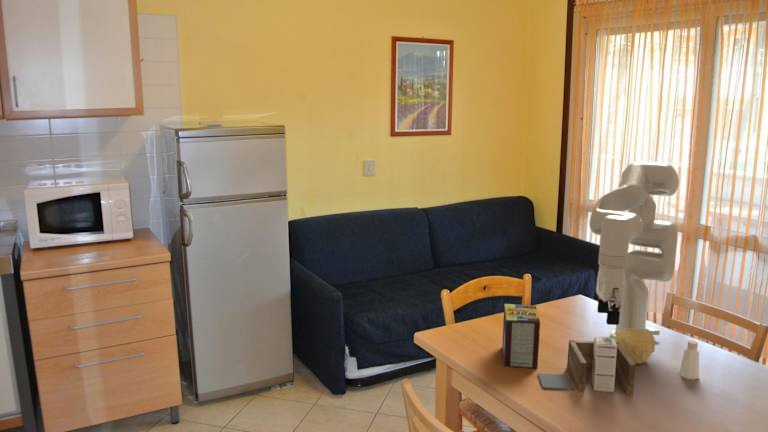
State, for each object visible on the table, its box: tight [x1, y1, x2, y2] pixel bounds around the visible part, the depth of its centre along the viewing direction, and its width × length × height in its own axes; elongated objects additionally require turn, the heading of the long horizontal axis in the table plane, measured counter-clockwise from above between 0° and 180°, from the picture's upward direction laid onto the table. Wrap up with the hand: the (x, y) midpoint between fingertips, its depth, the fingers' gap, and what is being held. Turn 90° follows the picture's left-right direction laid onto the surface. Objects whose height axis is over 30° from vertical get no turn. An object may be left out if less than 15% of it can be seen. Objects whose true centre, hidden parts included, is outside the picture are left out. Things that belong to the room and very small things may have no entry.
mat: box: [537, 372, 576, 391], centre depth 182 cm, size 9×9×1 cm
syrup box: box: [591, 336, 617, 393], centre depth 178 cm, size 6×6×14 cm
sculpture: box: [614, 328, 657, 365], centre depth 198 cm, size 11×12×11 cm
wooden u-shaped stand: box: [566, 339, 637, 396], centre depth 183 cm, size 15×16×9 cm
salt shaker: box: [678, 339, 700, 380], centre depth 187 cm, size 5×5×11 cm
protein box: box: [501, 303, 541, 369], centre depth 198 cm, size 10×15×16 cm
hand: (607, 318), depth 175 cm, fingers open, 9 cm apart
